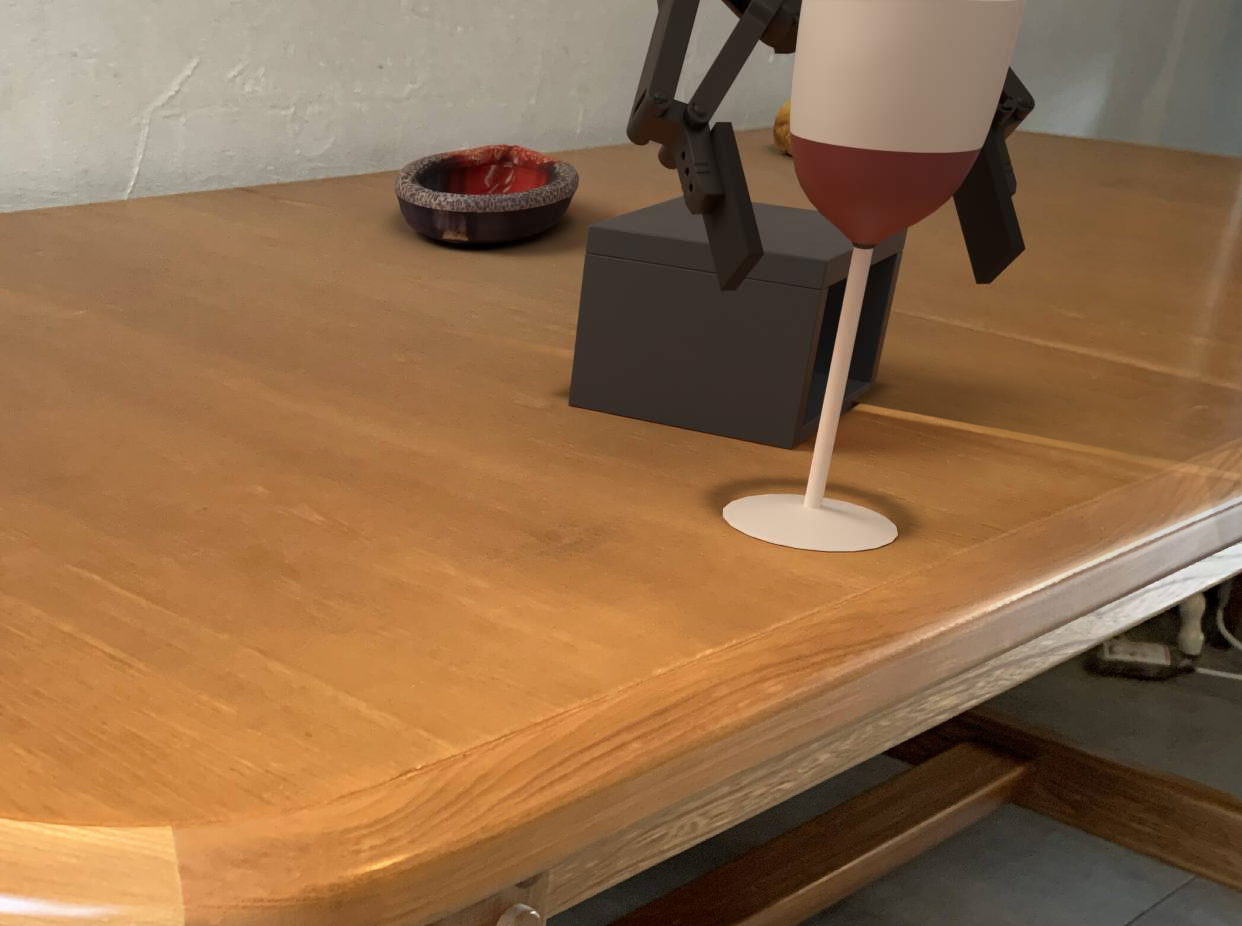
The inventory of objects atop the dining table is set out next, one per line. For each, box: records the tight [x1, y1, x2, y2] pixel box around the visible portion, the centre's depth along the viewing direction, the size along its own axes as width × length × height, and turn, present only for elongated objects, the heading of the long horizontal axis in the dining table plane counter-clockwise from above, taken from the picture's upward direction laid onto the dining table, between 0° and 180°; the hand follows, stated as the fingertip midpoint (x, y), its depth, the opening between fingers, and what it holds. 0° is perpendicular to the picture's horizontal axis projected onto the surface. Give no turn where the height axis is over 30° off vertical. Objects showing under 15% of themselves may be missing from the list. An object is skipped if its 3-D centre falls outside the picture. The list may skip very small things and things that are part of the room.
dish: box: [393, 143, 580, 245], centre depth 148 cm, size 16×31×5 cm, turn 164°
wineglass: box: [722, 0, 1027, 552], centre depth 78 cm, size 9×10×23 cm
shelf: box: [568, 195, 909, 450], centre depth 100 cm, size 14×15×10 cm
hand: (874, 270), depth 76 cm, fingers open, 13 cm apart
